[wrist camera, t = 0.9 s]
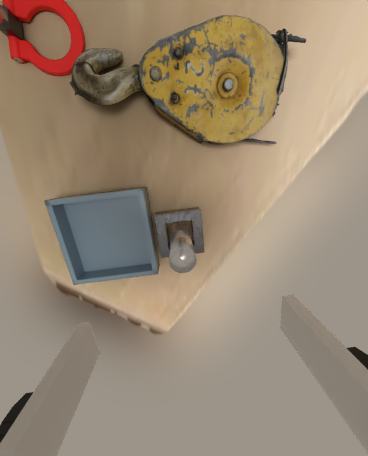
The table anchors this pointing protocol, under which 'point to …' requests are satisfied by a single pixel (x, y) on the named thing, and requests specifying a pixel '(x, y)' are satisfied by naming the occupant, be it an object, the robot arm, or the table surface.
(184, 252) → the pin
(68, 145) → the table surface
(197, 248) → the bracket
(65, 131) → the table surface
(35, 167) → the table surface
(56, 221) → the parts tray
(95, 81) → the pulley block
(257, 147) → the table surface
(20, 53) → the tow hook
